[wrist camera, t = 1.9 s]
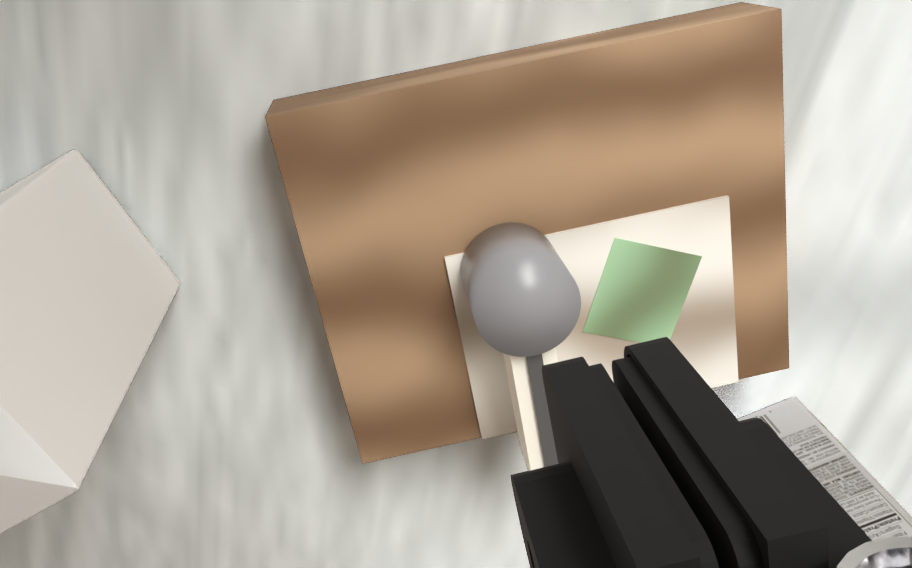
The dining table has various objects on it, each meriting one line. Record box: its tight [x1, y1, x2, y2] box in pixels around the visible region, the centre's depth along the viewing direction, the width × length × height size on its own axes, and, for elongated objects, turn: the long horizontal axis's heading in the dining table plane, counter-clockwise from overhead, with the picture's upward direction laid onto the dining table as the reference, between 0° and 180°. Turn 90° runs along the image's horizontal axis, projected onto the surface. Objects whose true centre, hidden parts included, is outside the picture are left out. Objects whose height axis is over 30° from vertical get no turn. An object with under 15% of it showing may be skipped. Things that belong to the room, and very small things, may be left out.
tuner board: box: [265, 2, 789, 464], centre depth 36 cm, size 16×20×4 cm
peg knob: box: [461, 222, 581, 471], centre depth 33 cm, size 10×4×4 cm, turn 11°
